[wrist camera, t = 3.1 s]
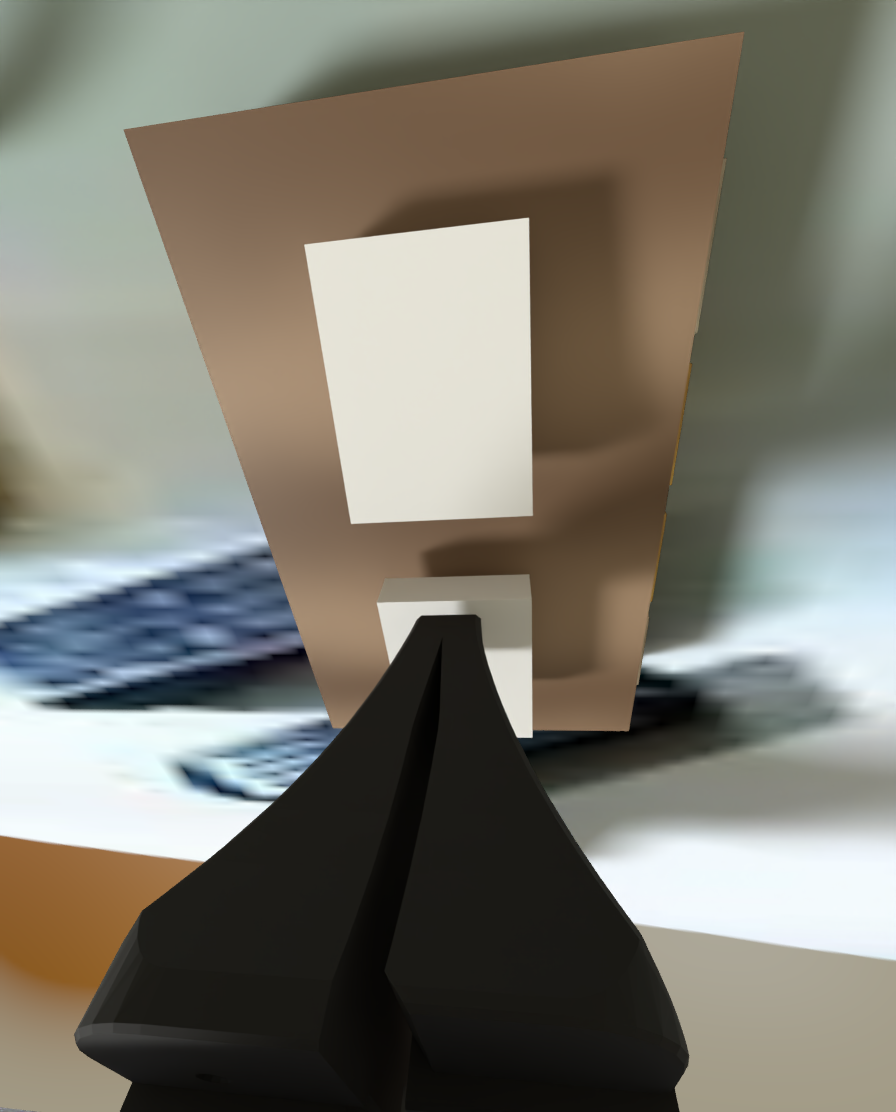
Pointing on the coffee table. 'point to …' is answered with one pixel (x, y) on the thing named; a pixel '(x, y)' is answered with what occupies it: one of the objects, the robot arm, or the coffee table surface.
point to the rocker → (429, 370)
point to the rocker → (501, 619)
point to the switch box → (555, 331)
